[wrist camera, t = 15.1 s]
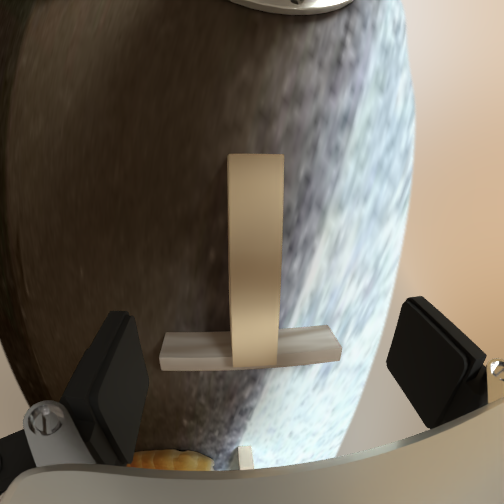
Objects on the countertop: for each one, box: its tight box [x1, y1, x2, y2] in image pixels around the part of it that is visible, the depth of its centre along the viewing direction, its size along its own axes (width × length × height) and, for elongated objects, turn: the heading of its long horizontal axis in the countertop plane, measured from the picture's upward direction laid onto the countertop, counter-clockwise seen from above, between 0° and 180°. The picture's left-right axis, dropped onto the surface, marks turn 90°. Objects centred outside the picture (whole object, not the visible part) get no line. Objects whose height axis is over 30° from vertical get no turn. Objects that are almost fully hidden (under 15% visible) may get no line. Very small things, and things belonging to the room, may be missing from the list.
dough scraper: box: [159, 154, 342, 371], centre depth 16 cm, size 12×11×4 cm
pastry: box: [126, 449, 215, 471], centre depth 22 cm, size 9×7×4 cm
